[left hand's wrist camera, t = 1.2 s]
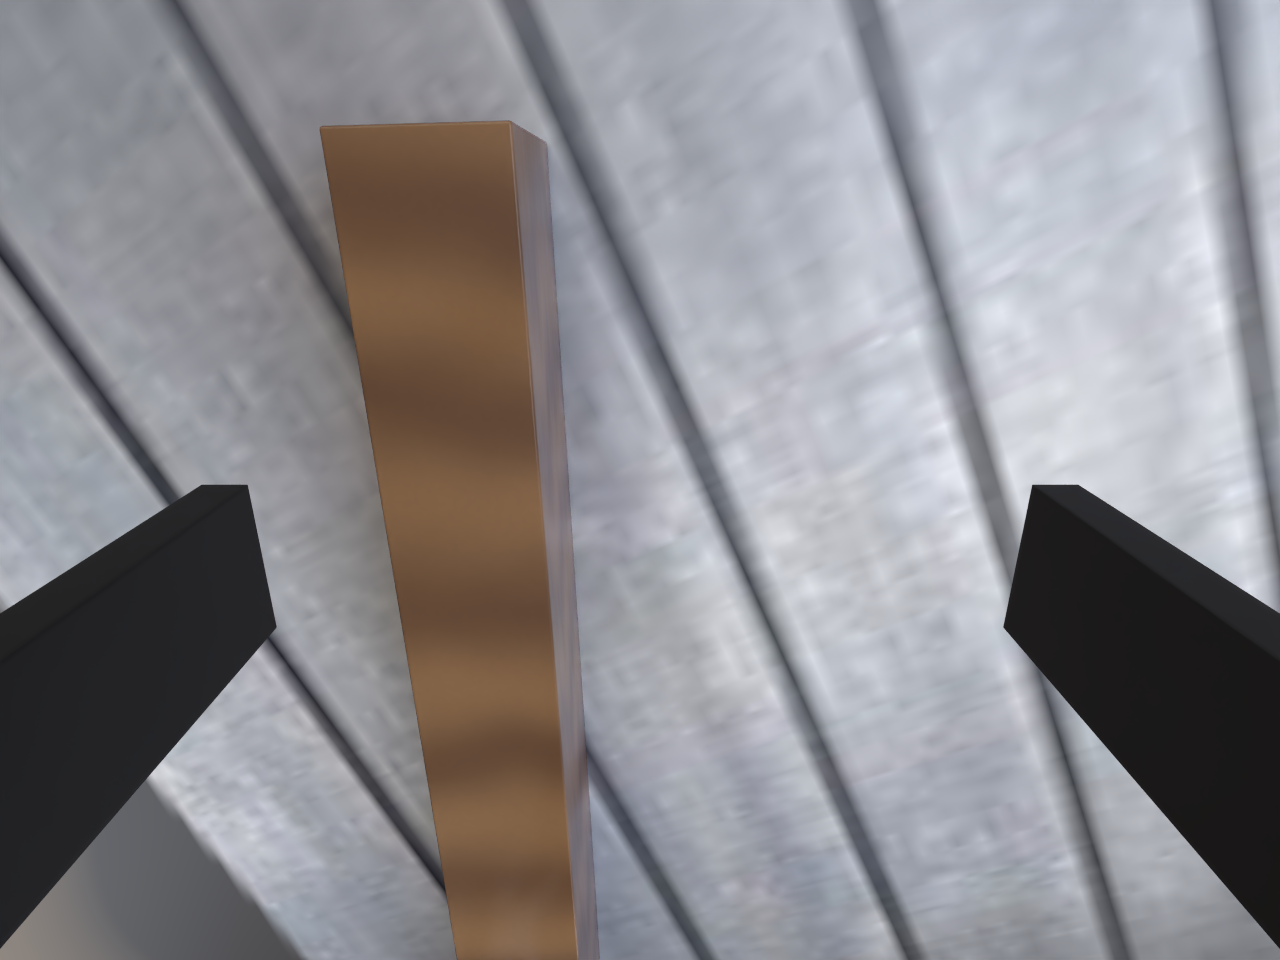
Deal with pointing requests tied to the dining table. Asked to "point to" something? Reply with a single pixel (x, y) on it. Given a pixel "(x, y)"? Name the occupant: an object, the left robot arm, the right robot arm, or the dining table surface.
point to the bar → (476, 510)
